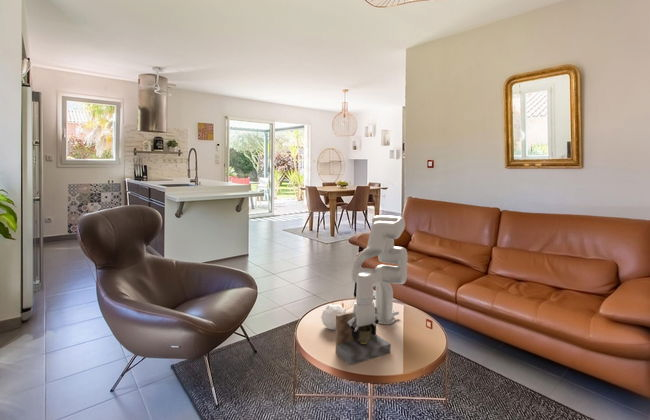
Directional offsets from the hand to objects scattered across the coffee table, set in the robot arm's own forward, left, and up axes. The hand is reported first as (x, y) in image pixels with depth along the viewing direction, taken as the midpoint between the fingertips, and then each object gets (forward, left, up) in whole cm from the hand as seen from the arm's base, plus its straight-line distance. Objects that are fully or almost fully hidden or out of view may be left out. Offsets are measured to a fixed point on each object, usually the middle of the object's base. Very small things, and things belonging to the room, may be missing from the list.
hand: (363, 336), depth 166 cm
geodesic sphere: (-1, -29, -8) cm, 30 cm away
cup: (0, 0, -4) cm, 4 cm away
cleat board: (0, -1, -8) cm, 8 cm away
